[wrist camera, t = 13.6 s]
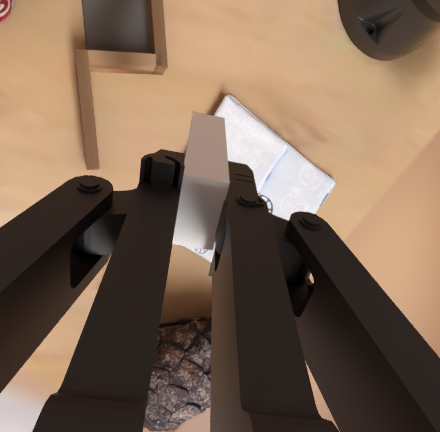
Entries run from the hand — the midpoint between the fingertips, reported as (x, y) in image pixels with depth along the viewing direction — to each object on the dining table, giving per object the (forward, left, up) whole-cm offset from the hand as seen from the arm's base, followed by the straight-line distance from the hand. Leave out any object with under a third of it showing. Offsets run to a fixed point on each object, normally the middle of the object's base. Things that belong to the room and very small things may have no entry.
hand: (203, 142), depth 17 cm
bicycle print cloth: (-13, +5, -25) cm, 29 cm away
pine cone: (-4, +22, -25) cm, 34 cm away
